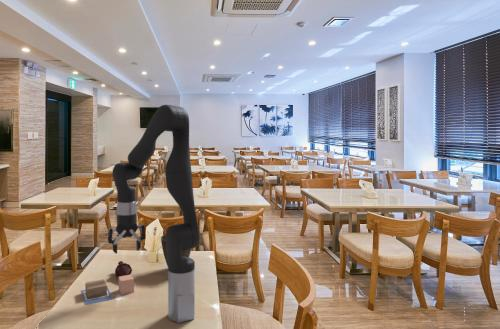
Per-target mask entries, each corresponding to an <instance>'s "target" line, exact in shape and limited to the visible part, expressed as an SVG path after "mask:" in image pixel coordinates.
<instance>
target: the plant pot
mask: <svg viewBox="0 0 500 329" xmlns="http://www.w3.org/2000/svg"><path fill="white" fill-rule="evenodd" d="M160 243H161V249H162V252H163V256H164V259H165V260H164V261H165V263H166V266H167V267H168V263H167V249H166V233H165V234H163V235H161V236H160ZM191 250H192V249H188V250H183V251H181V256H184V257H189V258H190V255H191Z"/></svg>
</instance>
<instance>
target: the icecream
mask: <svg viewBox="0 0 500 329" xmlns="http://www.w3.org/2000/svg"><path fill="white" fill-rule="evenodd" d="M114 273H115V276H116V277H117V278H118V279H119V277H120V276H126V275H132V273H133V268H132V266H131V264H128V263H126V262H123V260H120V261H118V264H117V266H116V268H115V270H114Z"/></svg>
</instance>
